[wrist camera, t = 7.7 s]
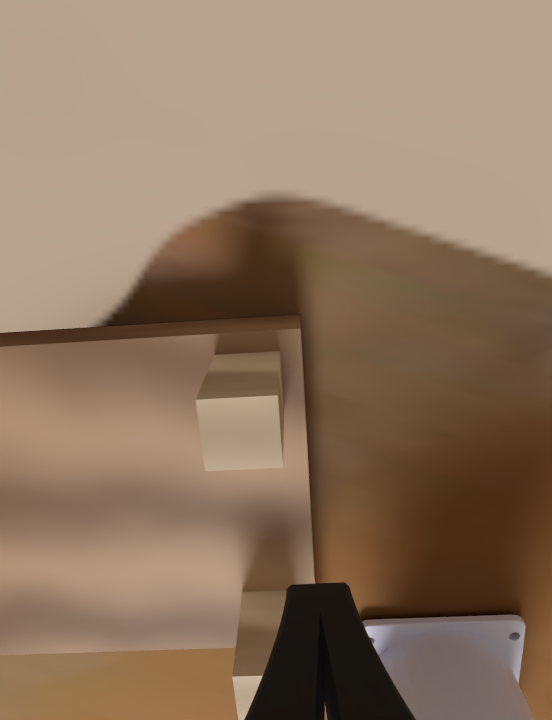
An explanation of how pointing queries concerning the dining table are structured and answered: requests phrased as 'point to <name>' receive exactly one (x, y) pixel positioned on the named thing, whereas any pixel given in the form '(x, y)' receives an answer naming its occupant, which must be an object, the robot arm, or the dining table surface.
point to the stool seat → (153, 488)
